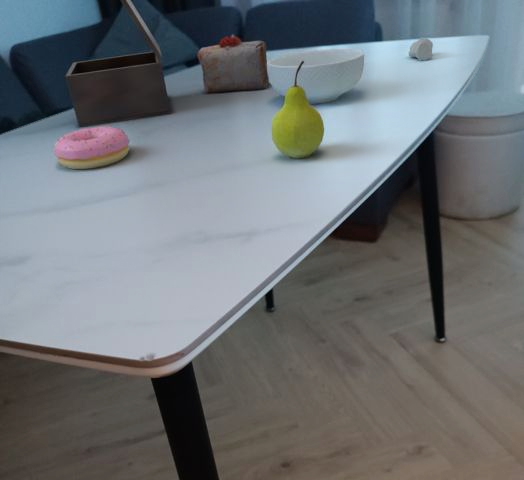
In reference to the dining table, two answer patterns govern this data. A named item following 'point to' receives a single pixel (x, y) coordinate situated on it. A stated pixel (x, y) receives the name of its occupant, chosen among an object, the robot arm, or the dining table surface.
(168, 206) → the dining table surface
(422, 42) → the pale two-lobed sculpture
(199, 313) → the dining table surface
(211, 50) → the food item
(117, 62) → the chest
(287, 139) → the fruit
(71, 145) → the doughnut
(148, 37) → the lid
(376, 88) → the dining table surface
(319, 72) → the cereal bowl
